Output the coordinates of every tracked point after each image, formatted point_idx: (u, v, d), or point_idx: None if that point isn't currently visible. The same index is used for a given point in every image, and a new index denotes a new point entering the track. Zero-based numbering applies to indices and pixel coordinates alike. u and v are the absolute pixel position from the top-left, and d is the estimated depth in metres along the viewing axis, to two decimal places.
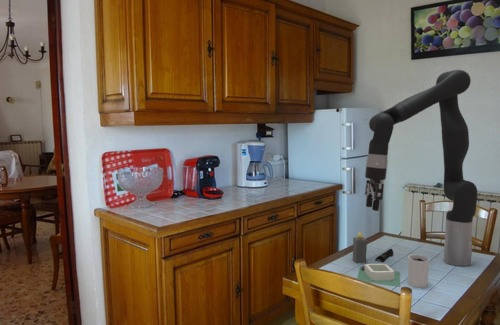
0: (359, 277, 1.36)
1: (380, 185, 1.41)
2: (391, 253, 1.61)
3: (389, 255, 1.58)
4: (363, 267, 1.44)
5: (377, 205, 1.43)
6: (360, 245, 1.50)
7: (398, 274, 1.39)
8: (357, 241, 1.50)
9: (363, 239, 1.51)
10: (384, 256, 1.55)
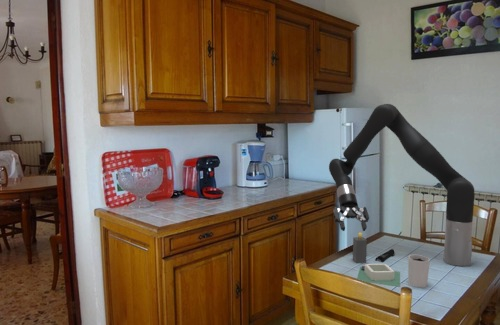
0: (359, 277, 1.36)
1: None
2: (392, 253, 1.60)
3: (390, 255, 1.58)
4: (363, 267, 1.44)
5: (340, 225, 1.60)
6: (360, 245, 1.50)
7: (398, 274, 1.39)
8: (357, 241, 1.50)
9: (363, 239, 1.51)
10: (384, 256, 1.55)
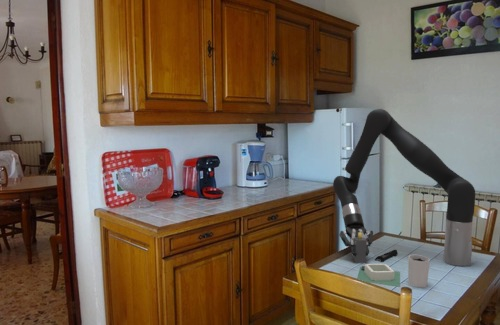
0: (359, 277, 1.36)
1: (340, 234, 1.56)
2: (394, 254, 1.60)
3: (391, 256, 1.58)
4: (363, 267, 1.44)
5: (351, 250, 1.51)
6: (360, 245, 1.50)
7: (398, 274, 1.39)
8: (356, 241, 1.50)
9: (363, 239, 1.51)
10: (385, 256, 1.55)
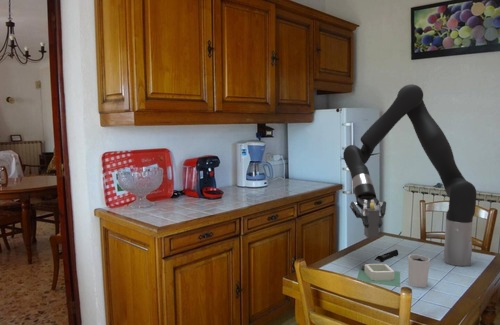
0: (359, 277, 1.36)
1: (350, 205, 1.46)
2: (395, 254, 1.60)
3: (392, 256, 1.57)
4: (363, 267, 1.44)
5: (363, 221, 1.42)
6: (372, 216, 1.40)
7: (398, 274, 1.39)
8: (369, 212, 1.40)
9: (375, 209, 1.42)
10: (385, 256, 1.55)
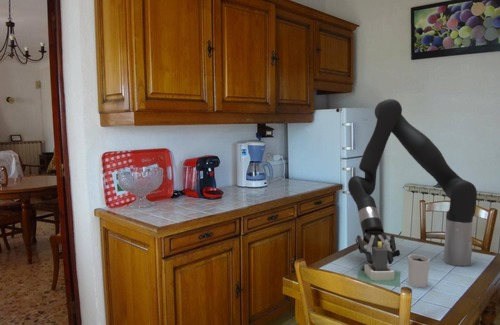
0: (359, 277, 1.36)
1: (356, 238, 1.41)
2: (396, 254, 1.59)
3: None
4: (363, 267, 1.44)
5: (367, 257, 1.36)
6: (380, 256, 1.35)
7: (398, 274, 1.39)
8: (376, 251, 1.35)
9: (383, 248, 1.36)
10: None
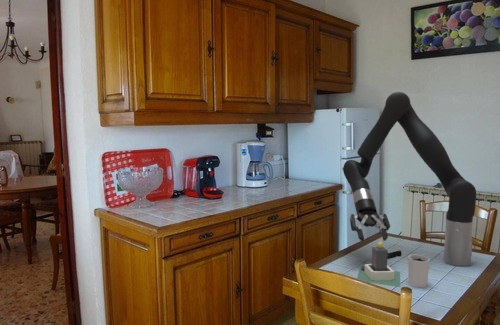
0: (359, 277, 1.36)
1: (350, 217, 1.48)
2: (397, 255, 1.59)
3: (393, 256, 1.57)
4: (363, 267, 1.44)
5: (358, 234, 1.43)
6: (380, 256, 1.35)
7: (398, 274, 1.39)
8: (377, 252, 1.35)
9: (383, 248, 1.36)
10: None
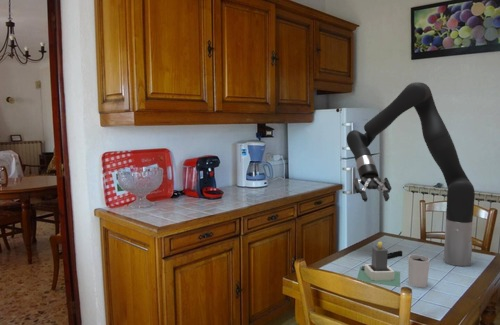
0: (359, 277, 1.36)
1: (354, 181, 1.60)
2: (398, 255, 1.59)
3: (393, 256, 1.57)
4: (363, 267, 1.44)
5: (362, 195, 1.55)
6: (380, 256, 1.35)
7: (398, 274, 1.39)
8: (377, 252, 1.35)
9: (383, 248, 1.36)
10: None
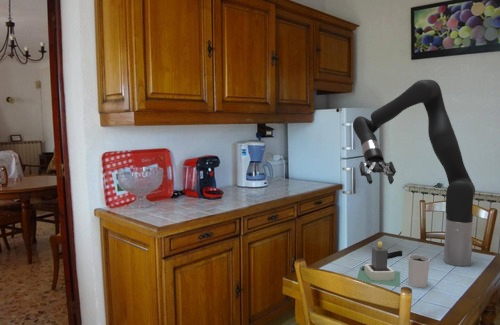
0: (359, 277, 1.36)
1: (360, 164, 1.65)
2: (398, 254, 1.59)
3: (393, 256, 1.57)
4: (363, 267, 1.44)
5: (367, 178, 1.60)
6: (380, 256, 1.35)
7: (398, 274, 1.39)
8: (377, 252, 1.35)
9: (383, 248, 1.36)
10: None
